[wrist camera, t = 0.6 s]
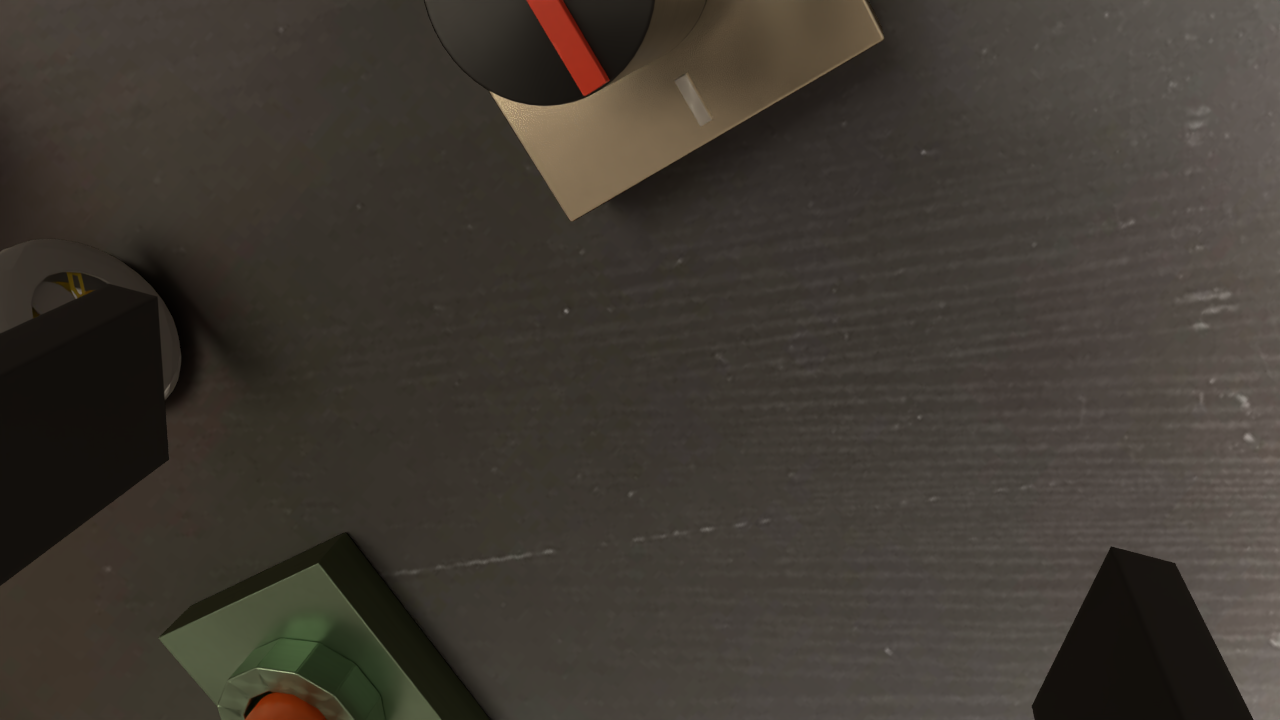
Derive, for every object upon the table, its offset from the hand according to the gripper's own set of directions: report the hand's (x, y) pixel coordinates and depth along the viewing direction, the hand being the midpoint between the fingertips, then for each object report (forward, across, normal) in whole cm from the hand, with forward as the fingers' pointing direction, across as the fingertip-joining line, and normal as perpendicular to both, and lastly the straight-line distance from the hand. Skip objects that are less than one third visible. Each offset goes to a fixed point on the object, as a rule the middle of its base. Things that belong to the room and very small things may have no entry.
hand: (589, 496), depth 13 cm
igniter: (+18, -13, -25) cm, 33 cm away
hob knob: (+15, -4, +6) cm, 17 cm away
